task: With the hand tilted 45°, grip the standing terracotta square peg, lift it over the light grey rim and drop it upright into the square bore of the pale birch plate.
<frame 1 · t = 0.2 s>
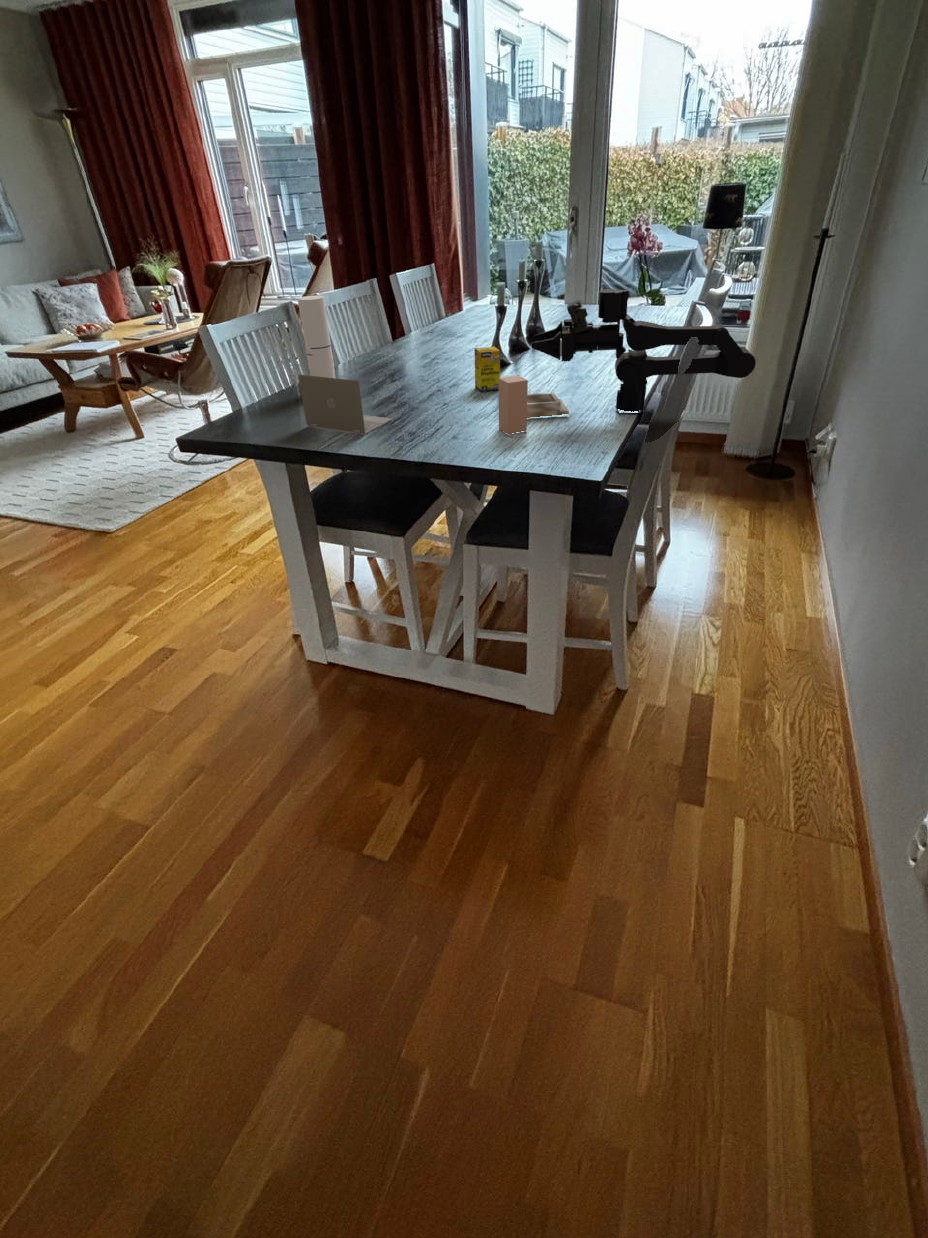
hand: (532, 341, 157), 17 cm above the table, tool horizontal, fingers open, 9 cm apart
cylindrical container: (325, 391, 189), on the table
laptop: (350, 425, 163), on the table
terracotta peg: (512, 430, 153), on the table
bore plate: (539, 412, 164), on the table
supplement box: (487, 389, 185), on the table
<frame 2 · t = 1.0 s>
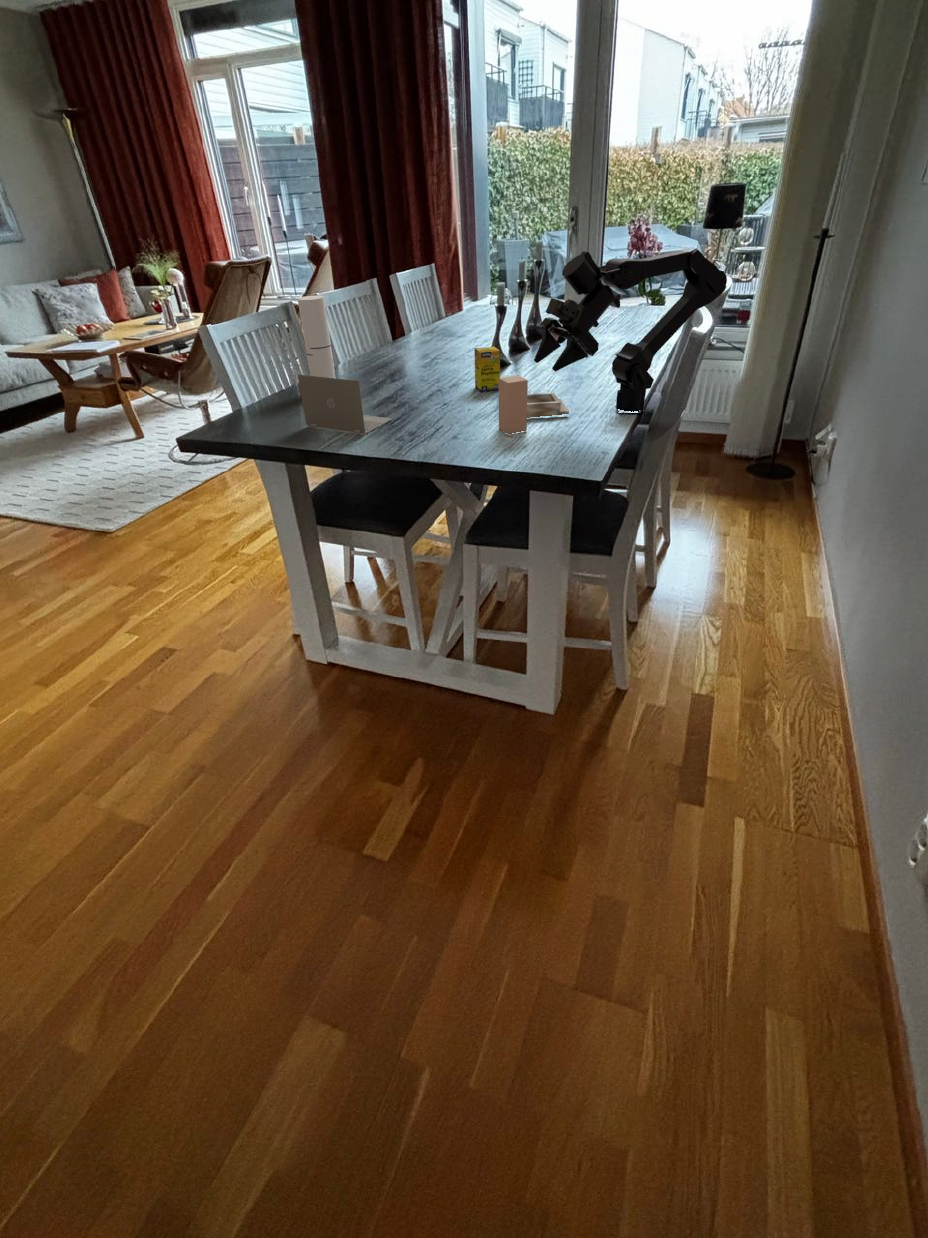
hand: (544, 365, 148), 14 cm above the table, tool tilted 45°, fingers open, 9 cm apart
nothing on the table moved.
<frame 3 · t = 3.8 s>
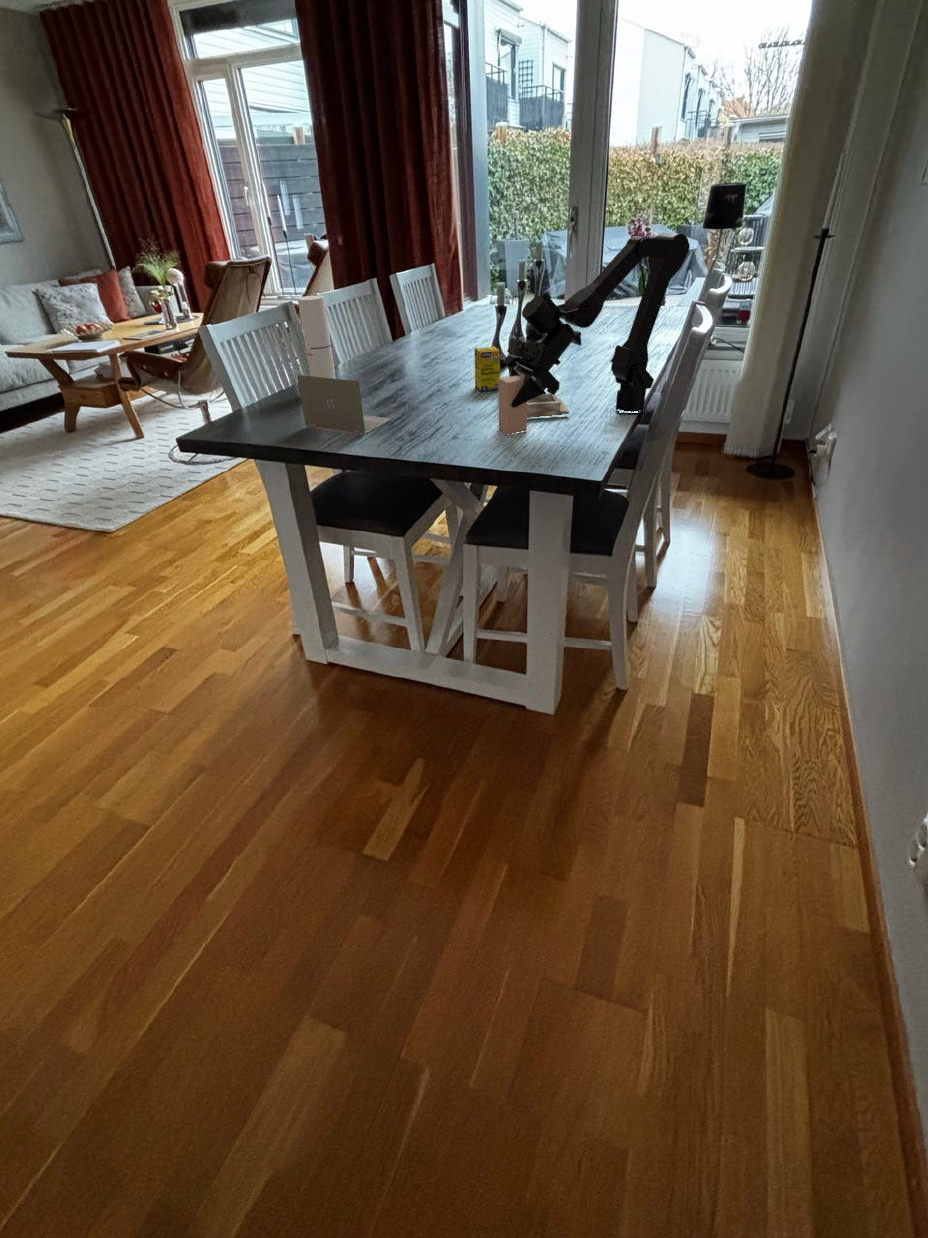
hand: (507, 403, 149), 7 cm above the table, tool tilted 45°, fingers closed on terracotta peg, 5 cm apart
terracotta peg: (512, 430, 153), on the table, touching gripper
everything else where it was.
when the fingers open (9 cm above the table, at t = 9.5 s): terracotta peg drops 2 cm, resting in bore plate.
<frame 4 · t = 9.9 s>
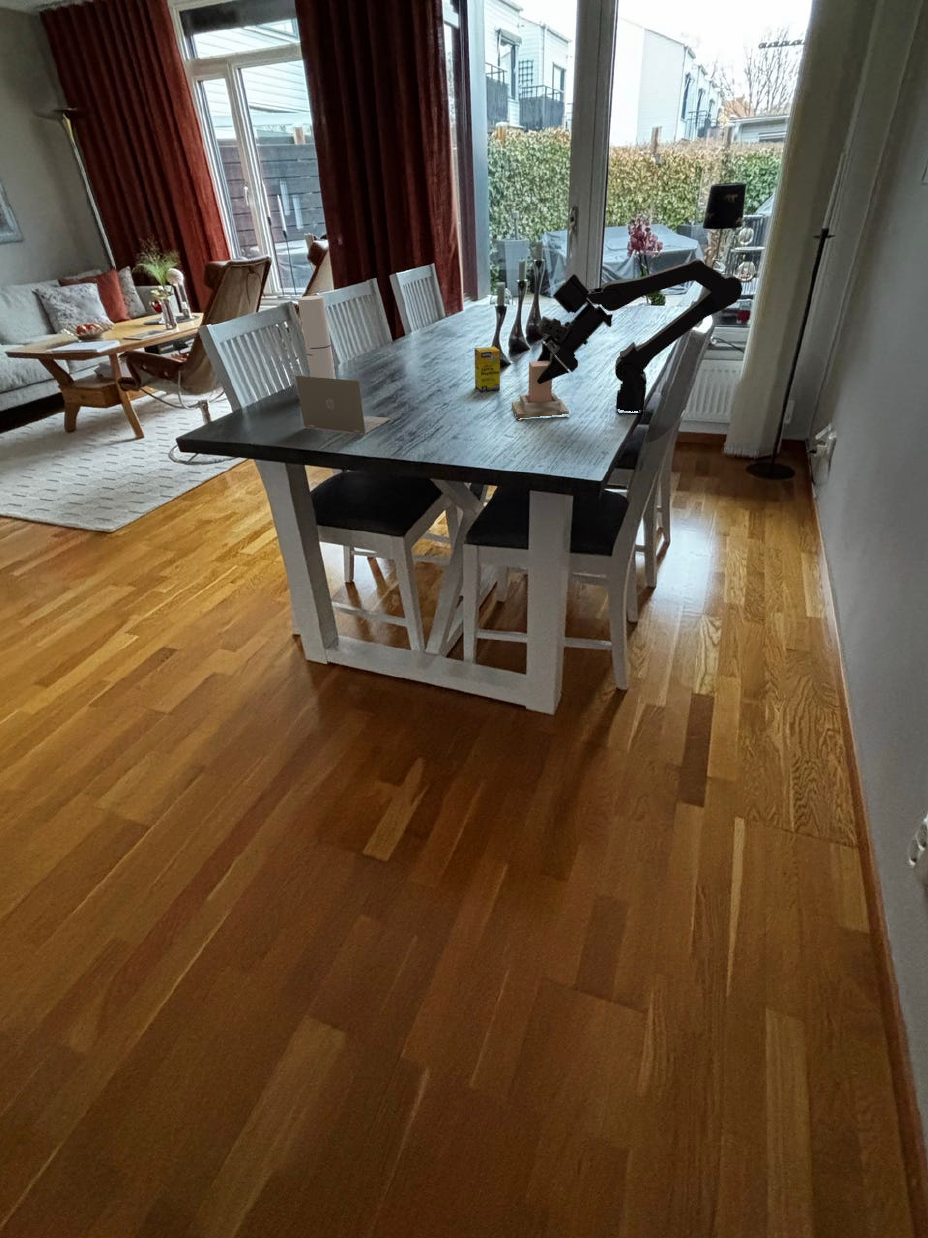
hand: (534, 378, 160), 9 cm above the table, tool tilted 45°, fingers open, 9 cm apart
terracotta peg: (539, 412, 165), resting in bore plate
everything else where it was.
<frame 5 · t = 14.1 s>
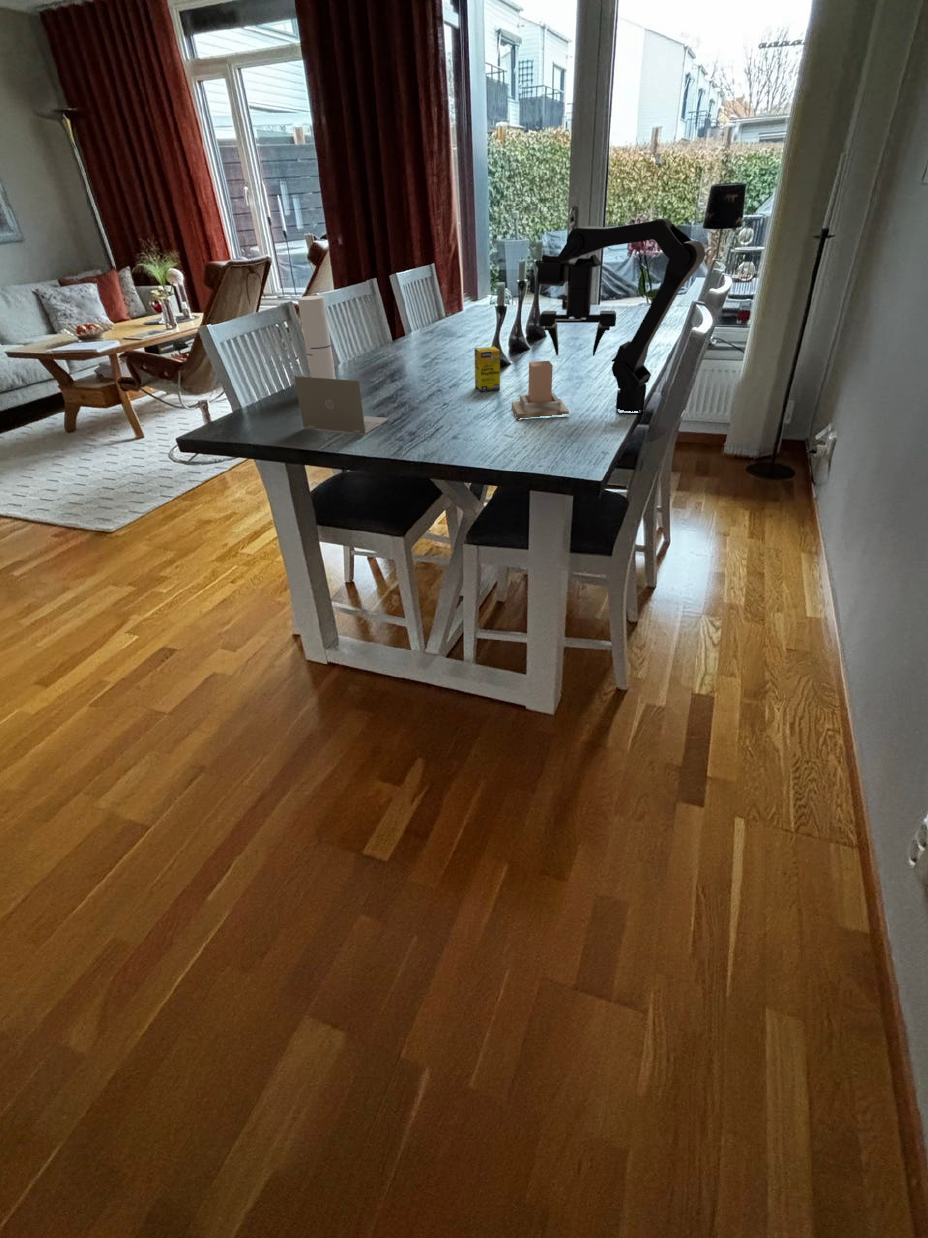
hand: (575, 355, 163), 12 cm above the table, tool pointing down, fingers open, 9 cm apart
nothing on the table moved.
at the end: terracotta peg 0.0 cm off-centre on the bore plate, point 0.0 cm above the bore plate's base; terracotta peg tilted 0°; the gripper is holding nothing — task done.
